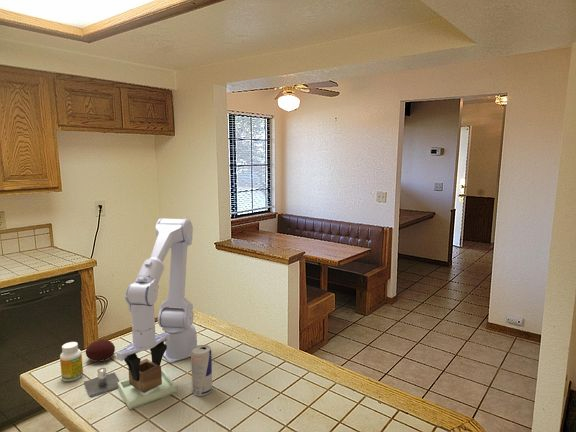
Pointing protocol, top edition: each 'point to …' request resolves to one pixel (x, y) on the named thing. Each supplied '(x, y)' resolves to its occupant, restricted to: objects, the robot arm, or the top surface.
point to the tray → (139, 398)
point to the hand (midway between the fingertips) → (146, 374)
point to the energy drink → (201, 370)
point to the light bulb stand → (101, 383)
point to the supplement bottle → (71, 362)
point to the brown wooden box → (147, 376)
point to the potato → (100, 350)
